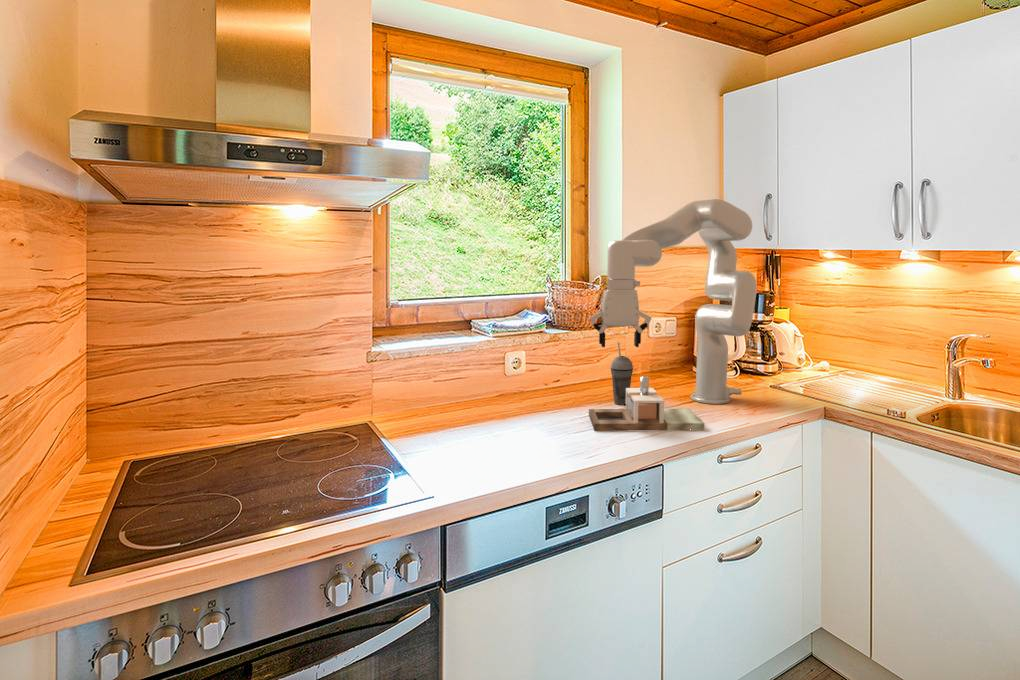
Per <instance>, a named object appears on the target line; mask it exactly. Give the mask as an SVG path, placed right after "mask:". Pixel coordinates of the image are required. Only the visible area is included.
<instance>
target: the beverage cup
mask: <svg viewBox="0 0 1020 680" xmlns="http://www.w3.org/2000/svg"><path fill="white" fill-rule="evenodd" d="M620 345H621V344H620V342H619V341H618V342H617V346H618V347H617V348H618V356H617V357H615V358H614V359H613V360H612V362H611V364H610V372H611V377H612V379H611V380H612V391H613V393H612V394H613V401H614V402H613V404H615V405H617V404H619V406H625V405H624V404H626V388H631V385H632V384H631V382H632V375H633V371H634V367H633V365H634V364H633V362H632V360H631V359H630V358H629V357H627V356H626V355H625V356H624V355H621V354H622V353H621V347H620Z"/></svg>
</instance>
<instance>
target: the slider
mask: <svg viewBox="0 0 1020 680" xmlns="http://www.w3.org/2000/svg"><path fill="white" fill-rule="evenodd" d="M639 380H640V381H639V388H640V395H649V388H650V387H649V386H650V385H649V384H650V376H647V375H641V376H640V377H639ZM656 405H657V414H656V415H657V417H658V418H659V405H660V403H656ZM627 412H628V413H629V415H630V417H631V418H632V419H634V402H633V400H632V398H631V396H630V397H628V401H627Z"/></svg>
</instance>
